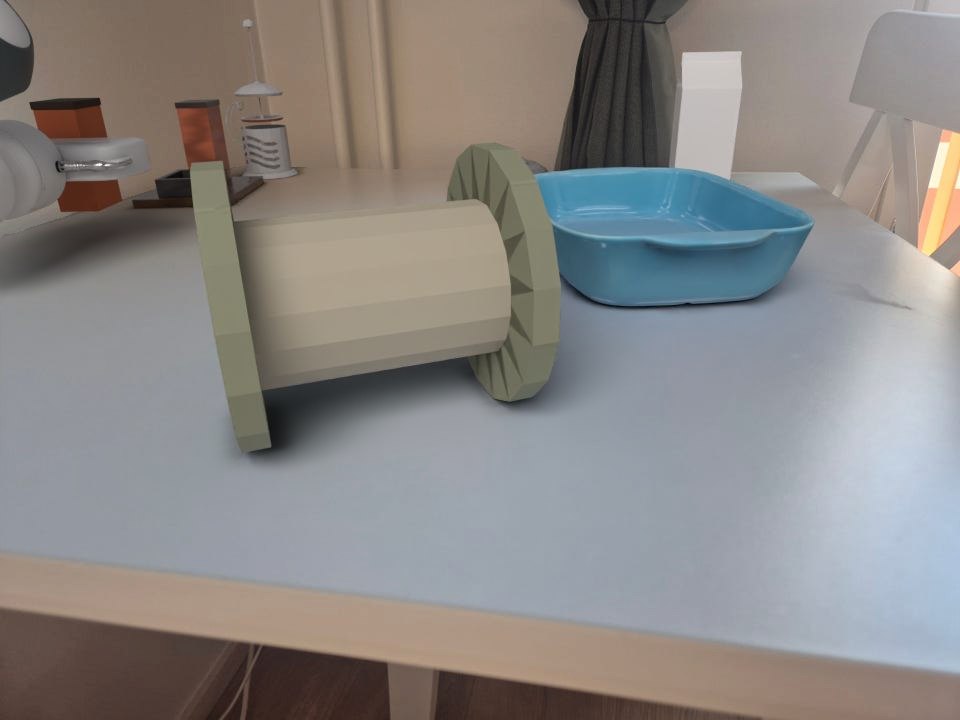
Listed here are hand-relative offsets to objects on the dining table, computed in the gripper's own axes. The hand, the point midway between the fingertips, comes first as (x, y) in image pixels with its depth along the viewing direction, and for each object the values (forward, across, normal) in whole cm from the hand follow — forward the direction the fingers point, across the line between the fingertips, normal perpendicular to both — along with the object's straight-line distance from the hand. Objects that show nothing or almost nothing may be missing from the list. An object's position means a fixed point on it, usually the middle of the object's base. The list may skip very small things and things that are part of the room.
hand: (81, 149), depth 79 cm
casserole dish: (-18, -62, +10) cm, 66 cm away
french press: (+42, -9, +10) cm, 44 cm away
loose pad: (-1, 0, +6) cm, 7 cm away
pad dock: (+24, -4, +10) cm, 26 cm away
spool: (-47, -39, +10) cm, 62 cm away
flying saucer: (+22, -51, +10) cm, 57 cm away
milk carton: (+8, -76, +10) cm, 77 cm away
